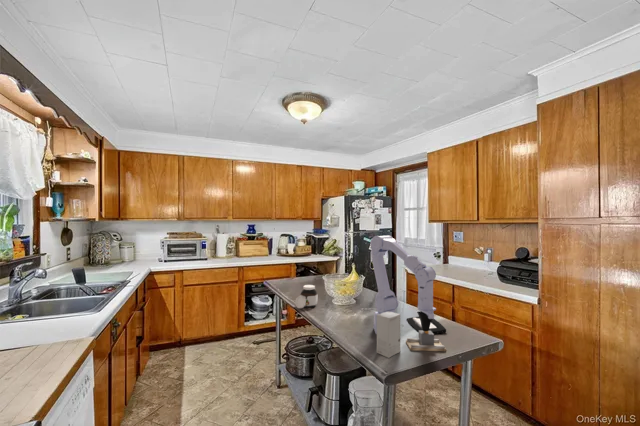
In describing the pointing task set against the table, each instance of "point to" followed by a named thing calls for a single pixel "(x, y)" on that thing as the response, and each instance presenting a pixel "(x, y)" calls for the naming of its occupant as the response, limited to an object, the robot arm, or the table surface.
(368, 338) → the table surface
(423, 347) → the rail board
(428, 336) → the module
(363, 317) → the table surface
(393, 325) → the skincare box
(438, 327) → the black picture frame
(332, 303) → the table surface
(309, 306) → the spread jar
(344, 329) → the table surface
